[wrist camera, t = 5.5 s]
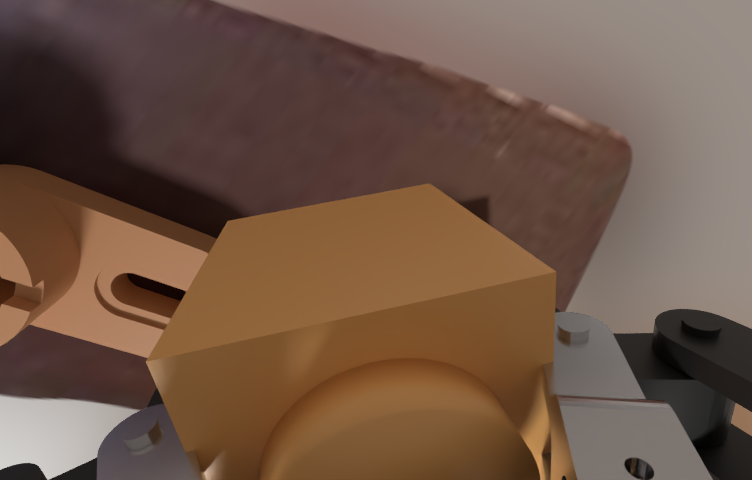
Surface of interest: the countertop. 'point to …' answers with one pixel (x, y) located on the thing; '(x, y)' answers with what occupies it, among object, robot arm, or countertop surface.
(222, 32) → the countertop surface
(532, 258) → the cube with dome top
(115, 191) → the countertop surface
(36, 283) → the bracket
